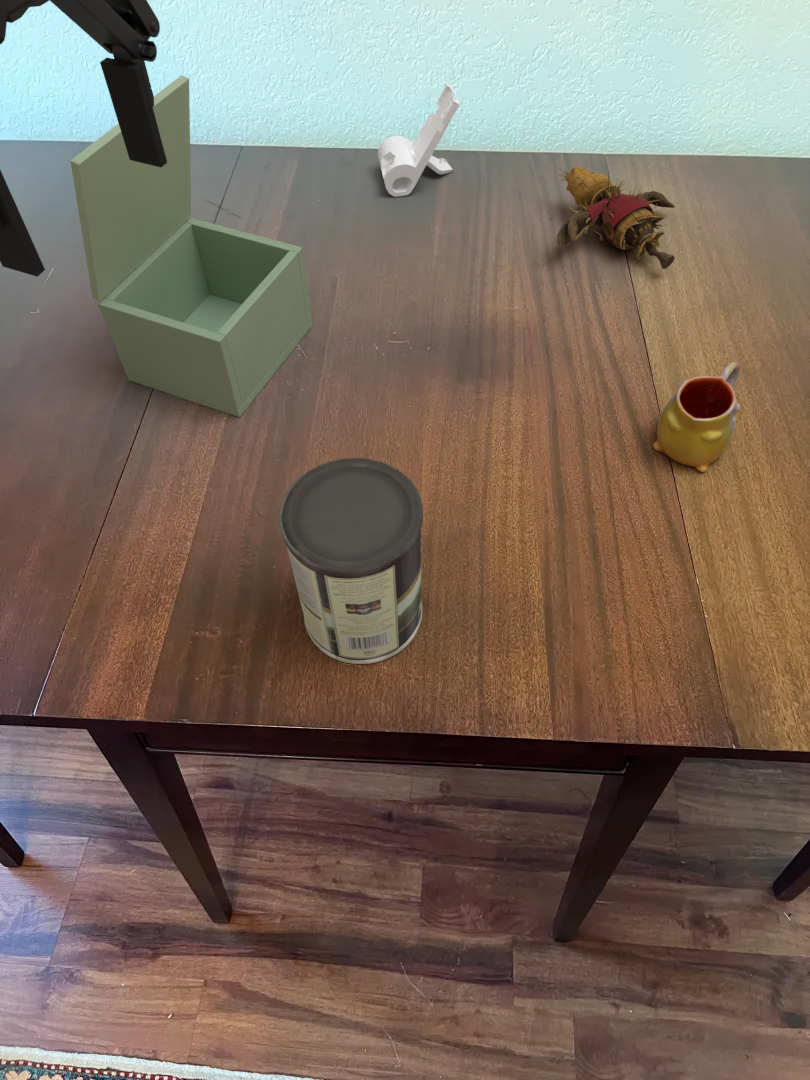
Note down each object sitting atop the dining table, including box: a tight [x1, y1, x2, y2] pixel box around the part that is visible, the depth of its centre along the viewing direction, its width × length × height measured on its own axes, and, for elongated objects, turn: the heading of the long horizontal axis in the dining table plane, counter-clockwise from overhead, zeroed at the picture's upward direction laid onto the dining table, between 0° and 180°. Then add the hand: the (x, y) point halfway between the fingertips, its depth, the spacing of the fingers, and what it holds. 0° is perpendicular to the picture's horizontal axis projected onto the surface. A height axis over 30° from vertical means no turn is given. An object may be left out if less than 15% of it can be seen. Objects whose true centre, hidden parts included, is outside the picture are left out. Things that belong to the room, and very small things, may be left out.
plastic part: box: [377, 82, 460, 198], centre depth 102 cm, size 8×10×12 cm
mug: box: [652, 361, 741, 473], centre depth 76 cm, size 12×7×7 cm, turn 139°
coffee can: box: [278, 457, 424, 665], centre depth 61 cm, size 10×10×14 cm
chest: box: [97, 216, 314, 418], centre depth 82 cm, size 14×16×10 cm
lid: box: [70, 74, 192, 302], centre depth 73 cm, size 15×16×1 cm
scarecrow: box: [546, 161, 676, 270], centre depth 95 cm, size 17×16×8 cm
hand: (90, 211), depth 52 cm, fingers open, 13 cm apart
